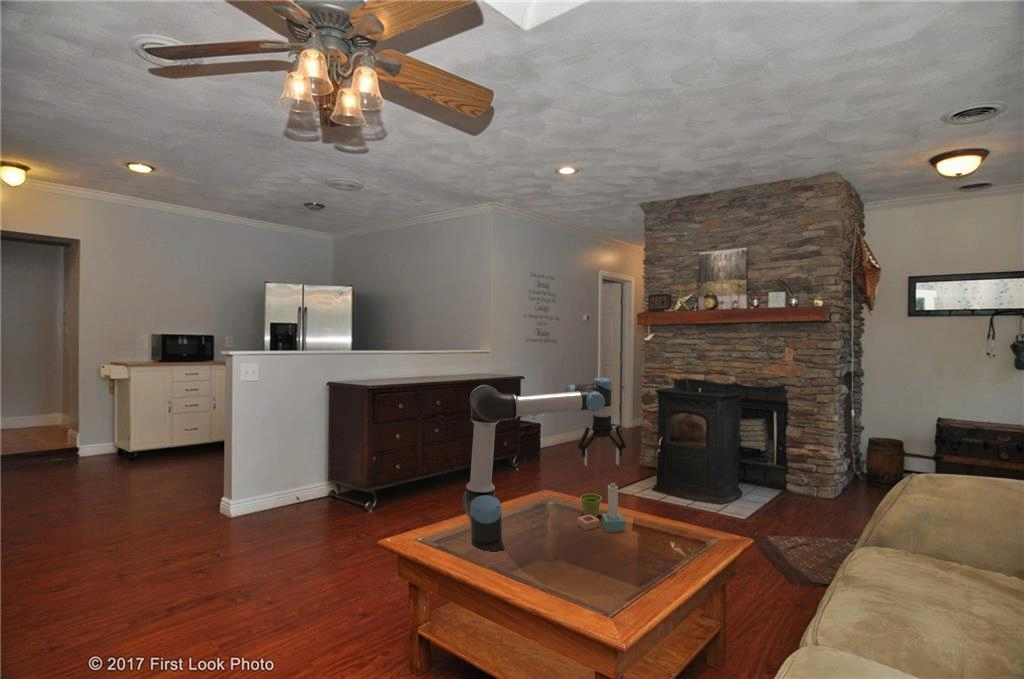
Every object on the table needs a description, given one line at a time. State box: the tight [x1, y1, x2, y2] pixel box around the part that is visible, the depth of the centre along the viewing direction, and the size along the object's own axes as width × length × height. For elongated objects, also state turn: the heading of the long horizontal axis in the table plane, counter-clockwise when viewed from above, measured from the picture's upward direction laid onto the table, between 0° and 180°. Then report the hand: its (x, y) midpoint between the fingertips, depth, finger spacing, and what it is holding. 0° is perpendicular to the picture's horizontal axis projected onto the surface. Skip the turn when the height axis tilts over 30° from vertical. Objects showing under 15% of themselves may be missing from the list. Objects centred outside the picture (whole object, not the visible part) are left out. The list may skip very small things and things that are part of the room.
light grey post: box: [607, 482, 619, 520], centre depth 236 cm, size 3×3×20 cm
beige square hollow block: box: [576, 514, 601, 531], centre depth 240 cm, size 7×7×3 cm
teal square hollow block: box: [601, 512, 626, 533], centre depth 237 cm, size 8×8×4 cm
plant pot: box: [579, 493, 603, 518], centre depth 248 cm, size 9×9×9 cm
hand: (601, 464), depth 235 cm, fingers open, 13 cm apart
